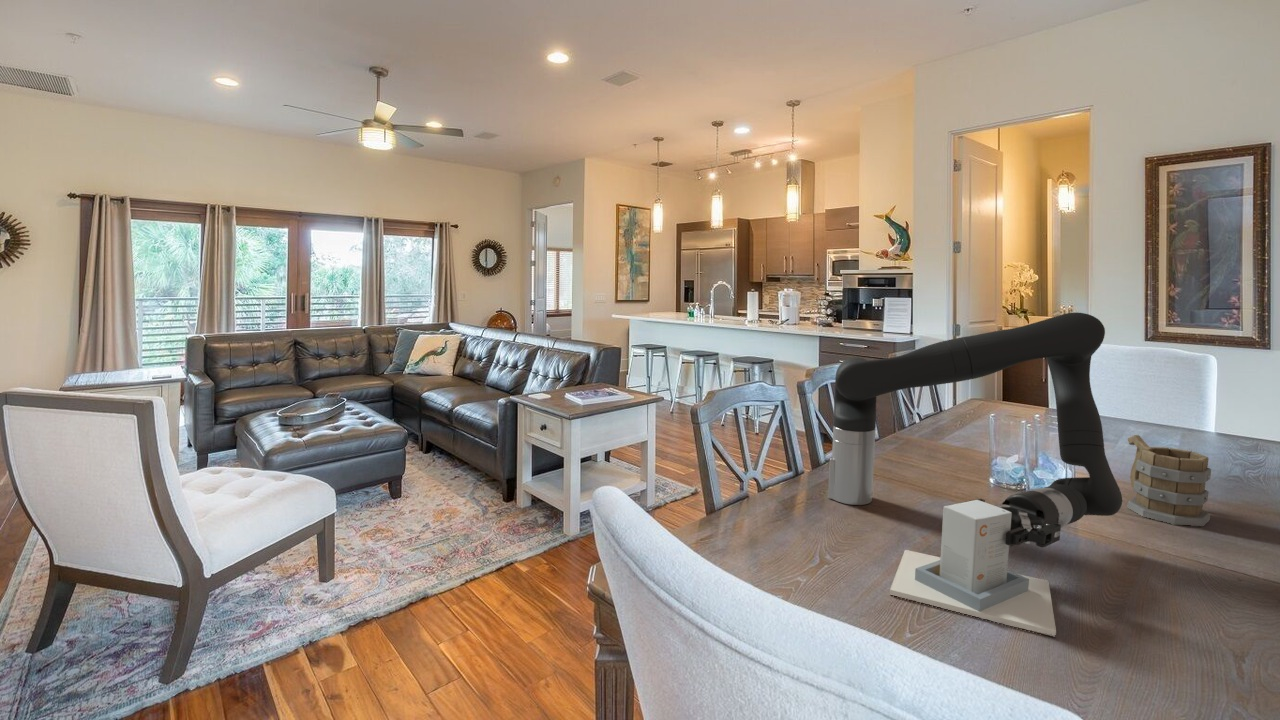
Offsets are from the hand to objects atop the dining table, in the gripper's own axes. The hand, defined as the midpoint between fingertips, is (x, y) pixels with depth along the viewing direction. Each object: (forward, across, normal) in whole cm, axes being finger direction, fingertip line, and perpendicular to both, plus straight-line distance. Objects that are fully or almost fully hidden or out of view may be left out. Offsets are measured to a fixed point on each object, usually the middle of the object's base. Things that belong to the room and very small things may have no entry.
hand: (981, 529), depth 96 cm
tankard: (-70, -2, +10) cm, 71 cm away
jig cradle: (+2, 0, +10) cm, 10 cm away
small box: (+2, 0, +9) cm, 10 cm away
